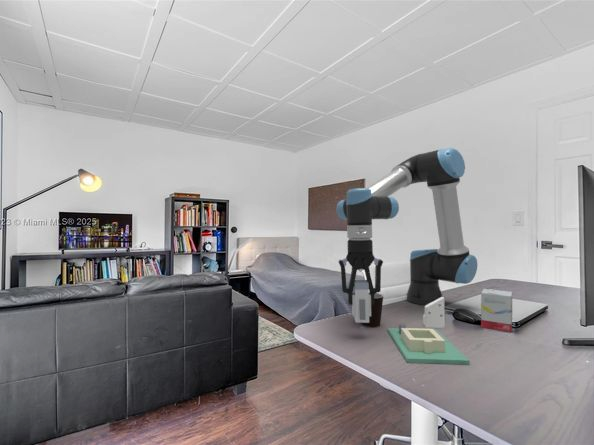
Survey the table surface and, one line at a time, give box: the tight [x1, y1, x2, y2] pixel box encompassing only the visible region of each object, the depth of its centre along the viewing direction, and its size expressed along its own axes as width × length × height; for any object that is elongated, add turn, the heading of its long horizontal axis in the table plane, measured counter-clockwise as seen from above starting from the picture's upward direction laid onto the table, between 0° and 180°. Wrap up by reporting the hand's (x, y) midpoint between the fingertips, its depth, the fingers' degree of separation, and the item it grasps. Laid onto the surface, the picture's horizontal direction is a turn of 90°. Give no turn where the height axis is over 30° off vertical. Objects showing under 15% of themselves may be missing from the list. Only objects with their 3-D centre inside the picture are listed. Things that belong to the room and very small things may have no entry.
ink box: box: [480, 288, 513, 333], centre depth 100 cm, size 9×9×12 cm
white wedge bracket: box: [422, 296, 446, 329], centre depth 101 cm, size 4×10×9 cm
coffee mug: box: [361, 292, 384, 328], centre depth 105 cm, size 12×9×10 cm
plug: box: [353, 279, 369, 324], centre depth 92 cm, size 5×4×12 cm
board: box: [387, 323, 470, 365], centre depth 85 cm, size 22×15×4 cm
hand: (361, 314), depth 92 cm, fingers closed on plug, 4 cm apart
